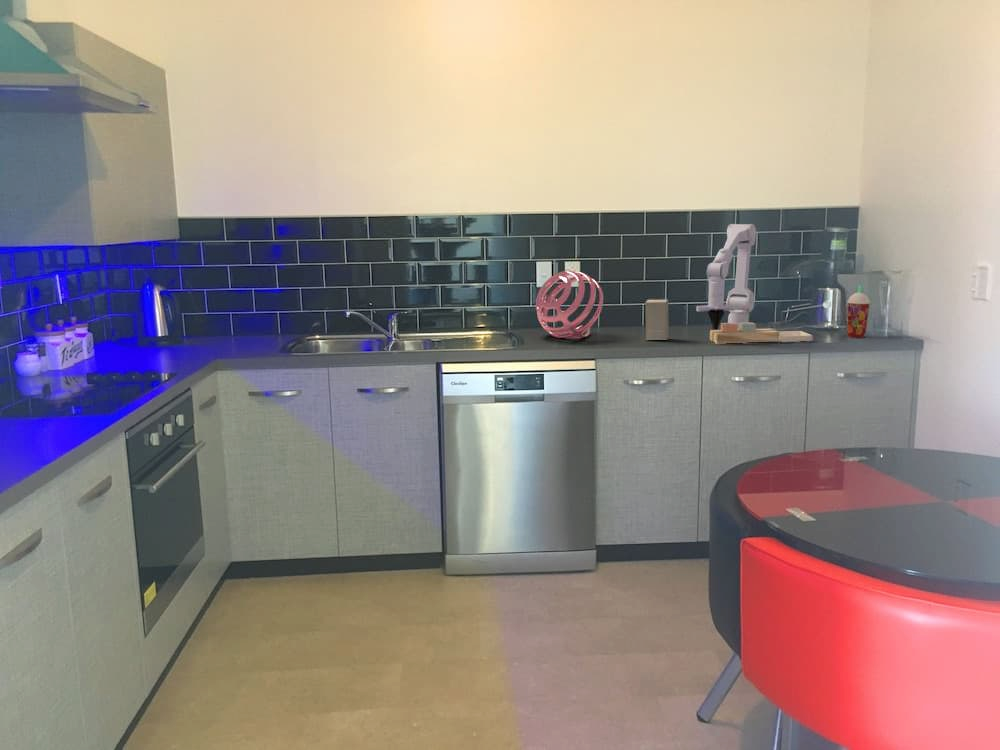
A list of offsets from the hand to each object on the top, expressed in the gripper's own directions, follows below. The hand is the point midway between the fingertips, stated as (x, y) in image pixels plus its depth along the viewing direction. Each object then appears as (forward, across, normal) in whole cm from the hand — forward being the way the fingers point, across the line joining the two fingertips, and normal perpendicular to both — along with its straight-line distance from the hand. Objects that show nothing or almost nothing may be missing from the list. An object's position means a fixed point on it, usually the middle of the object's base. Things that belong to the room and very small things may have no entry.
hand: (715, 329), depth 322 cm
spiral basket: (+5, -55, +20) cm, 59 cm away
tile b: (+1, +12, 0) cm, 13 cm away
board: (+5, +12, 0) cm, 13 cm away
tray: (+5, +30, 0) cm, 30 cm away
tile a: (+1, +6, 0) cm, 6 cm away
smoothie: (+5, +58, +4) cm, 58 cm away
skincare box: (+5, -20, +8) cm, 23 cm away
